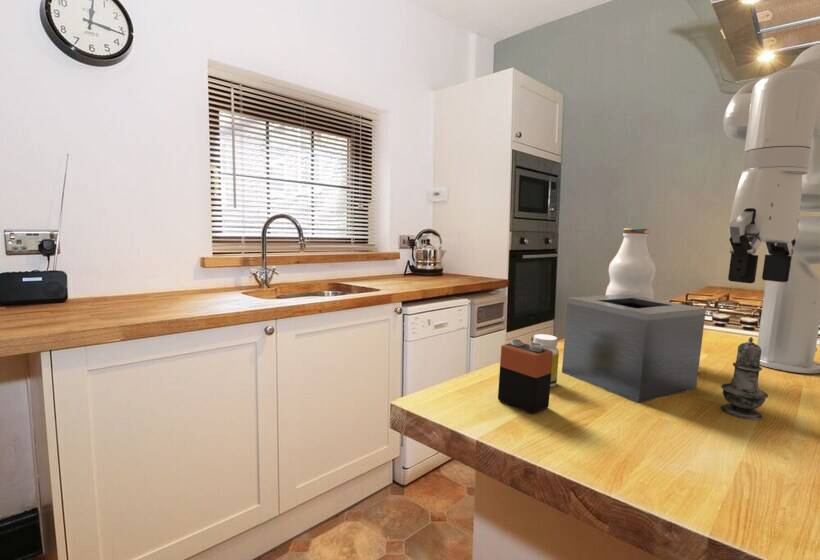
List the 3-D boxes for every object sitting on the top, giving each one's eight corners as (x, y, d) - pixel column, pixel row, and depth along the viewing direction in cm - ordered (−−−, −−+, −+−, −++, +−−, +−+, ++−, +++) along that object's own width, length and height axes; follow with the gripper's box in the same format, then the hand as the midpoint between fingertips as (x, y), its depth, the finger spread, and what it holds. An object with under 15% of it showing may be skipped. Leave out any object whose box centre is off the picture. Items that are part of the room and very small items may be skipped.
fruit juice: (618, 362, 92) (632, 228, 89) (591, 350, 101) (602, 227, 98) (657, 361, 94) (671, 229, 91) (626, 349, 104) (639, 228, 100)
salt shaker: (773, 422, 65) (785, 343, 64) (729, 418, 66) (739, 340, 65) (751, 407, 71) (761, 334, 70) (711, 402, 72) (720, 331, 71)
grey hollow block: (617, 362, 92) (623, 294, 91) (696, 388, 78) (705, 308, 77) (561, 372, 85) (567, 297, 83) (638, 402, 71) (647, 314, 69)
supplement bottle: (557, 381, 80) (561, 335, 79) (554, 389, 76) (558, 341, 74) (530, 376, 82) (534, 332, 81) (526, 384, 78) (529, 337, 76)
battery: (533, 415, 65) (538, 349, 64) (496, 400, 70) (500, 339, 69) (549, 408, 68) (554, 344, 66) (512, 394, 73) (517, 335, 71)
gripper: (773, 172, 71) (758, 278, 73) (713, 160, 63) (698, 279, 65) (834, 168, 65) (816, 283, 67) (776, 154, 57) (757, 286, 59)
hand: (758, 281), depth 66 cm, fingers open, 9 cm apart
